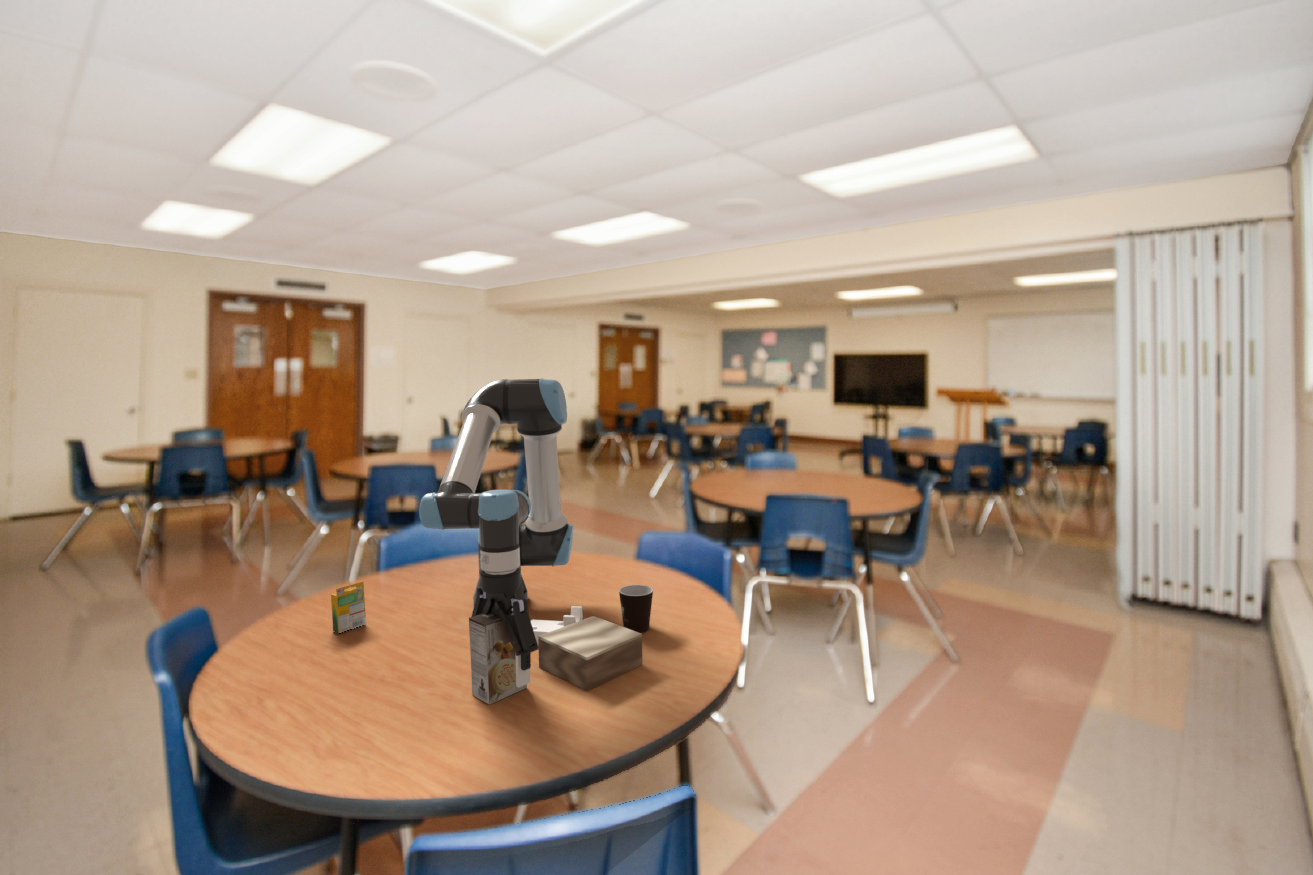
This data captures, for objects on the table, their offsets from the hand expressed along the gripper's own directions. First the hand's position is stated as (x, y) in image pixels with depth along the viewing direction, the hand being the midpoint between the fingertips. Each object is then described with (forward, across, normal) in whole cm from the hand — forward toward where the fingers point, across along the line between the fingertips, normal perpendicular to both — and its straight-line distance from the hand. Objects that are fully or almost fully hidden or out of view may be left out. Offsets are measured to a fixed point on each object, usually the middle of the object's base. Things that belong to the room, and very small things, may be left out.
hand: (503, 673), depth 124 cm
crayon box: (+4, -58, -7) cm, 59 cm away
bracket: (+5, -14, +23) cm, 28 cm away
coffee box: (+4, -2, 0) cm, 5 cm away
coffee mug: (+4, -4, +43) cm, 43 cm away
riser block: (+4, +4, +20) cm, 21 cm away
